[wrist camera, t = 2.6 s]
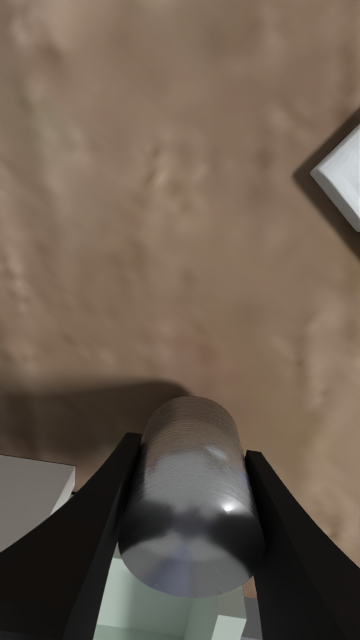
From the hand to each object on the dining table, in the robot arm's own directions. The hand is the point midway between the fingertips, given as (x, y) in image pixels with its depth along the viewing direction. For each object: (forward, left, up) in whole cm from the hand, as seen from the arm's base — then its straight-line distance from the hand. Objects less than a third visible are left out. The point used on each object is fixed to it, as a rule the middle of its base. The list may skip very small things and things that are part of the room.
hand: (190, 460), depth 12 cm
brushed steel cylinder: (0, 0, -2) cm, 2 cm away
